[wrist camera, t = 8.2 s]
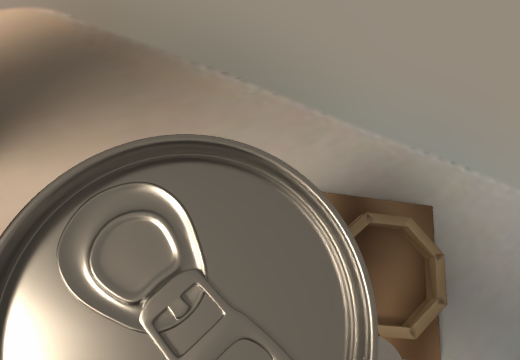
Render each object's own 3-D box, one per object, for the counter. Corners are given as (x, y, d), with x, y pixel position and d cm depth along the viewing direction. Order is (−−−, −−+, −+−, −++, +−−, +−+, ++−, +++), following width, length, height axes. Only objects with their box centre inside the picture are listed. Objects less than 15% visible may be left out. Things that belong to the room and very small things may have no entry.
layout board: (244, 343, 28) (249, 354, 24) (259, 187, 31) (266, 174, 27) (432, 359, 29) (467, 371, 25) (424, 208, 33) (454, 198, 29)
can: (212, 200, 17) (212, 41, 6) (299, 299, 17) (491, 331, 5) (101, 291, 16) (-198, 308, 4) (193, 408, 15) (133, 828, 3)
